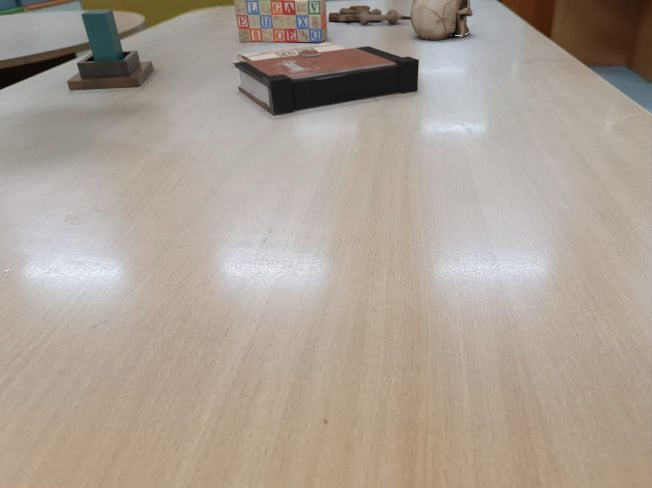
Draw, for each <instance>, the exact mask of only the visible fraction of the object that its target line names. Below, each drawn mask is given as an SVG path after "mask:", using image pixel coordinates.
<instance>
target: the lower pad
mask: <svg viewBox="0 0 652 488" xmlns="http://www.w3.org/2000/svg"><path fill="white" fill-rule="evenodd" d="M123 54H124V59H123V60H115V61H94V57H93V54H92V52H90V53H89V54H87V55H86V56H85V57H83V58H82V59H80V60H79V61H78V62H76V66H77V69H78V72H77V73H76V74H75V75H73V76H72V77H71V78H70V79H68V80H67V81H66V83H67V86H68V90H69V91H77V90H98V89H99V90H100V89H118V88H119V89H120V88H135V87H136V88H140V86H141V85H142V84H143V83H144V82H145V80H146V79H147V78H148V76H149V75H150V74H151V73H152V71H153V70H154V65H153V61H152V60H151V61H141V60H140V56H139V52H138V50H123Z"/></svg>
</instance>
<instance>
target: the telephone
mask: <svg viewBox="0 0 652 488" xmlns="http://www.w3.org/2000/svg"><path fill="white" fill-rule="evenodd" d="M382 13H383V12H382V10H381V9H378V8H374V9H371V6H369V5H351V6H350V7H347V8H345V7H342V8H340V9H339V11H338V12H329V13H328V22H355V21H356V22H359V23H360V24H361V25H367V24H369V23H370V22H384V21H387V22H388V24H390V25H391V24H393V25H394V24H396V23H397V22H398V21H411V17H410V16H409V15H408V16H407V15H406V16H405V15H402V14H399V12H398V11H397V10H396V9H390V10H388V11H387V12H386V14H382Z"/></svg>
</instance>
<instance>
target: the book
mask: <svg viewBox="0 0 652 488" xmlns="http://www.w3.org/2000/svg"><path fill="white" fill-rule="evenodd" d="M237 62H238V61H237ZM419 65H420V60H419V59H417V58H415V57H412V56H399V55H397V54H393V53H391V52H387V51H385V50H381V49H378V48H376V47H372V46H369V45H367V46H360V47H359V46H358V47H352V48H344V49H342V50H334V51H326V52H317V51H315V50H311V51H309V50H306V51H302V52H298V55H294V56H286V57H278V58H270V59H262V60H254V61H246V62H238V63H235V62H234V67H235V68H236V69H238V70H239V78H240V84H241V85H238V86H237V87H238V91H239V92H241V93H242V94H243V95H245V96H246V97H247V98H249V99H250V100H251V101H254V102H255V103H256V104H257V105H258V106H260V107H261V108H263V109H264V110H265V111H267V112H268V113H269V114H271V115H272V116H279V115H285V114H290V113H294V112H295V111H301V110H306V109H313V108H318V107H325V106H331V105H335V104H336V105H337V104H341V103H342V104H343V103H347V102H354V101H359V100H365V99H371V98H377V97H382V96H389V95H394V94H406V93H413V92H417V91H418V86H419V68H420V66H419Z"/></svg>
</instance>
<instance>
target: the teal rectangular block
mask: <svg viewBox="0 0 652 488" xmlns="http://www.w3.org/2000/svg"><path fill="white" fill-rule="evenodd" d="M80 16H81V19H82V22H83V26H84V29H85V33H86V36H87V39H88V44H89V47H90V49H91V53H92V54H93V57H94V61H115V60H123V59H124V54H123V51H124V50H123V46H122V42H121V39H120V35H119V30H118V27H117V23H116V19H115V15H114V11H113V9H89V10H87V11H85V12H82V13H81V14H80Z"/></svg>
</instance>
